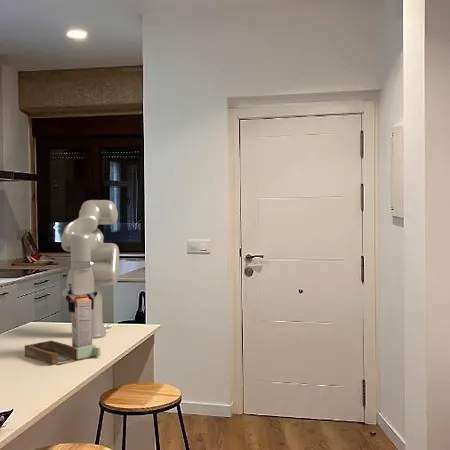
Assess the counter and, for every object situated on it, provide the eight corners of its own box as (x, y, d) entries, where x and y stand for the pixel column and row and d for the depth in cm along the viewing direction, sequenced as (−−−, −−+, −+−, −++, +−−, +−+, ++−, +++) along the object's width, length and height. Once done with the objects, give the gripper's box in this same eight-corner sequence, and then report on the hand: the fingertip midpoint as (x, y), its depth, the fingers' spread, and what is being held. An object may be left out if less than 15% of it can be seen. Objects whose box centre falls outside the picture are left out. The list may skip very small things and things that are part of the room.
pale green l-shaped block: (94, 354, 216) (94, 344, 216) (100, 356, 213) (100, 346, 213) (76, 358, 210) (76, 348, 210) (82, 360, 207) (82, 350, 207)
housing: (66, 347, 229) (66, 337, 229) (97, 356, 215) (97, 345, 215) (24, 356, 216) (24, 345, 216) (54, 366, 202) (54, 354, 202)
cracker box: (71, 348, 228) (70, 295, 228) (86, 346, 231) (86, 295, 230) (76, 356, 216) (76, 300, 215) (92, 354, 218) (92, 299, 217)
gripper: (94, 263, 231) (94, 306, 232) (55, 266, 218) (56, 312, 219) (105, 264, 226) (105, 308, 227) (66, 267, 213) (67, 314, 214)
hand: (81, 310), depth 223 cm, fingers closed on cracker box, 7 cm apart
